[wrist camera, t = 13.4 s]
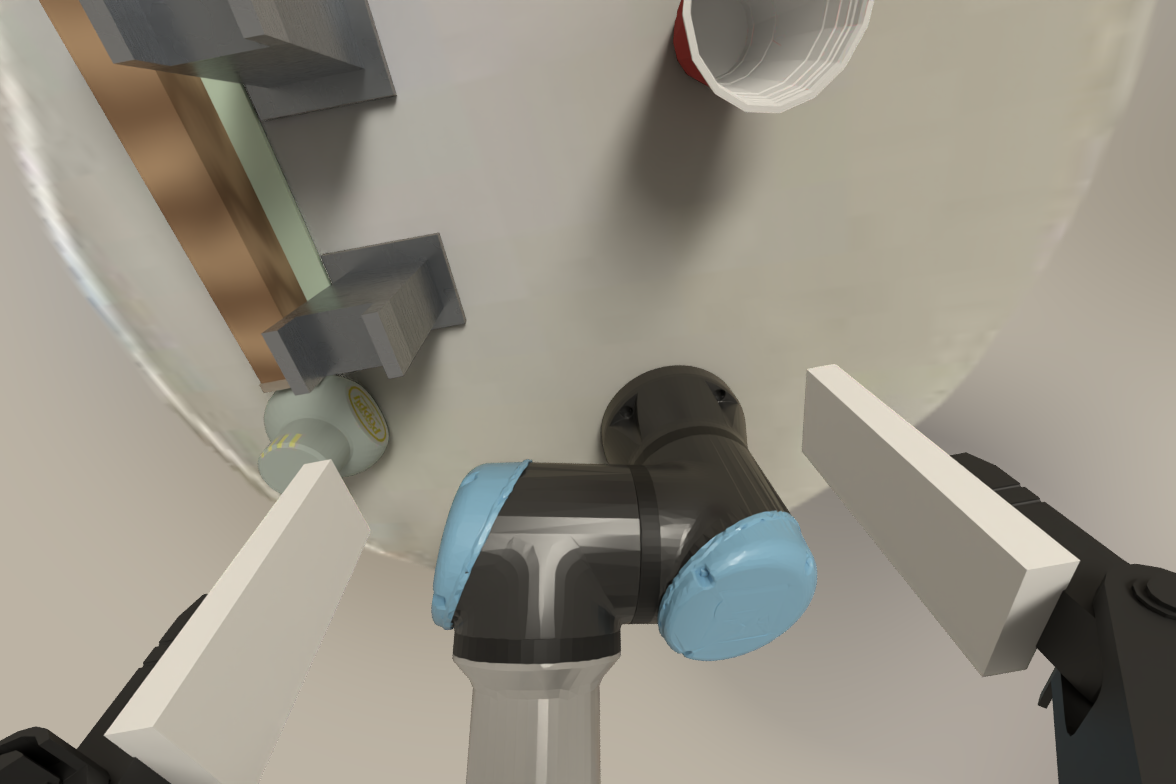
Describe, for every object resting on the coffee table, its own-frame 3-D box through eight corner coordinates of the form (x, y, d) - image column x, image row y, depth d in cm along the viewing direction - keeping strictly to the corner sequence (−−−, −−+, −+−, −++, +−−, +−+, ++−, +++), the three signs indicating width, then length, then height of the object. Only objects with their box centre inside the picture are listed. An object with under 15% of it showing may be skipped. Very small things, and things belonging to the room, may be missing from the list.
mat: (360, 350, 44) (359, 351, 44) (268, 367, 45) (266, 368, 44) (190, -35, 31) (186, -37, 30) (57, -9, 31) (52, -11, 31)
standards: (466, 320, 44) (433, 395, 31) (361, 339, 44) (287, 422, 31) (353, -46, 31) (221, -166, 19) (206, -17, 31) (-23, -116, 19)
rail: (337, 360, 44) (316, 383, 40) (289, 369, 44) (263, 392, 40) (143, -45, 30) (81, -72, 26) (74, -31, 30) (1, -56, 26)
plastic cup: (784, 105, 37) (876, 94, 27) (650, 131, 37) (689, 131, 27) (789, -80, 32) (907, -183, 21) (633, -47, 32) (674, -133, 22)
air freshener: (270, 379, 45) (204, 437, 37) (347, 351, 45) (299, 405, 36) (335, 463, 51) (291, 532, 42) (405, 440, 50) (375, 505, 41)
